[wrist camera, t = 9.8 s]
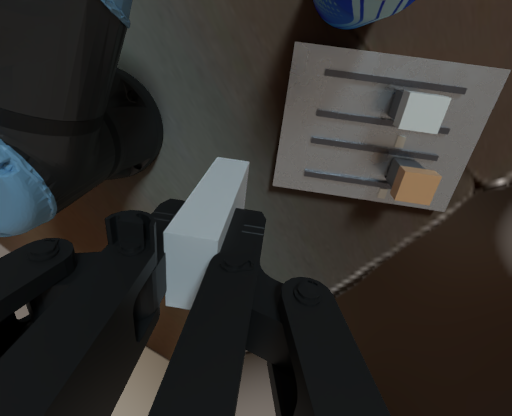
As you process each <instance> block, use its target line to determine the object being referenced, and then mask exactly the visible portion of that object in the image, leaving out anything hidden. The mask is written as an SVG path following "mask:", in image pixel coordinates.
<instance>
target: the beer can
mask: <svg viewBox="0 0 512 416" xmlns="http://www.w3.org/2000/svg"><path fill="white" fill-rule="evenodd" d="M414 1H415V0H313V2H314V5H315V8H316V10H317V12H318V13H319V15H320V16H321V18H322V19H323V20H324V21H325V22H326V23H328V24H329V25H331V26H333V27H335V28H338V29H345V30H347V29H355V28H358V27H361V26H364V25H366V24H369V23H372V22H375V21H377V20H380V19H383V18H386V17H388V16H391V15H393V14H396V13H398V12H400V11H401V10H403V9H405V8H406V7H407V6H409V5H410V4H411V3H412V2H414Z"/></svg>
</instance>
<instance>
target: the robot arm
mask: <svg viewBox="0 0 512 416" xmlns="http://www.w3.org/2000/svg"><path fill="white" fill-rule="evenodd" d="M131 4H132V0H0V237H10V236H13V235H14V236H15V235H20V234H23V233H25V232H28V231H29V230H31V229H33V228H35V227H37V226H39V225H41V224H43V223H46V222H48V221H50V220H51V219H53V218H54V216H55V215H56V214H57V213H58V212H60V211H61V210H63V209H64V208H66V207H67V206H69V205H70V204H71V203H73V202H74V201H76V200H77V199H79V198H80V197H81V196H83V195H84V194H86V193H87V192H89V191H90V190H92V189H93V188H94V187H96V186H97V185H99V184H100V183H102V182H103V181H104V180H110V179H118V178H125V177H129V176H132V175H135V174H137V173H139V172H140V171H142V170H143V169H144V168H146V167H147V166H148V165H149V164H151V163H152V162H153V161H154V159H155V158H156V156H157V155H158V153H159V151H160V148H161V145H162V140H163V125H162V119H161V115H160V112H159V110H158V107H157V105H156V103H155V101H154V100H153V98H152V96H151V95H150V93H149V92H148V91H147V90H146V88H145V87H144V86H143V85H142V84H141V83H140V82H139V81H138V80H136V79H135V78H134V77H132V76H131V75H129V74H128V73H126V72H124V71H122V70H120V69H118V68H117V64H118V61H119V57H120V53H121V49H122V46H123V42H124V38H125V34H126V31H127V28H130V20H129V15H130V9H131ZM248 170H249V162H248V161H241V160H234V159H228V158H221V157H217V158H216V160H215V161H214V162H213V164H212V165H211V166H210V168H209V169H208V171H207V172H206V173H205V175H204V176H203V178H202V179H201V180H200V182H199V183H198V185H197V186H196V187H195V189H194V190H193V192H192V193H191V194H190V196H189V197H188V199H187V200H186V201H183V200H176V199H169V200H167V201H165V202H163V203H161V204H160V205H159V206H158V207H157V208H156V209H155V210H154V212H153V213H152V214H149V213H147V212H143V211H136V210H128V211H121V212H117V213H114V214H111V215H110V216H108V217H107V218H105V224H106V231H107V238H108V245H107V246H106V247H105V248H104V249H103V250H102V252H90V253H75V252H74V248H73V245H72V243H71V242H69V241H68V240H65V239H60V238H46V239H42V240H37V241H34V242H31V243H29V244H26V245H24V246H22V247H20V248H18V249H16V250H14V251H13V252H11V253H9V254H7V255H5V256H3V257H1V258H0V416H111V414H112V412H113V410H114V408H115V406H116V404H117V402H118V400H119V398H120V396H121V394H122V392H123V390H124V388H125V386H126V384H127V382H128V380H129V378H130V376H131V374H132V372H133V370H134V368H135V366H136V364H137V362H138V360H139V358H140V356H141V354H142V352H143V350H144V348H145V346H146V344H147V342H148V340H149V338H150V336H151V334H152V332H153V330H154V328H155V326H156V324H157V321H158V319H159V315H160V302H161V300H162V299H163V297H164V295H165V298H166V306H170V307H176V308H182V309H188V310H190V312H189V315H188V317H187V320H186V322H185V325H184V327H183V330H182V332H181V335H180V337H179V340H178V342H177V345H176V347H175V350H174V352H173V355H172V357H171V360H170V362H169V365H168V367H167V370H166V372H165V375H164V377H163V380H162V382H161V385H160V387H159V390H158V392H157V395H156V397H155V400H154V402H153V405H152V407H151V410H150V412H149V415H148V416H235V412H236V406H237V399H238V393H239V387H240V381H241V374H242V368H243V363H244V356H245V351H246V350H248V351H249V352H251V353H253V354H255V355H257V356H259V357H261V358H263V359H265V360H267V366H268V372H269V378H270V383H271V389H272V395H273V401H274V407H275V412H276V416H391V415H390V413H389V411H388V409H387V407H386V405H385V403H384V401H383V399H382V397H381V394H380V392H379V390H378V388H377V386H376V384H375V382H374V380H373V378H372V376H371V374H370V371H369V369H368V367H367V365H366V363H365V361H364V359H363V357H362V355H361V353H360V350H359V348H358V346H357V344H356V342H355V340H354V338H353V336H352V334H351V332H350V330H349V327H348V325H347V323H346V321H345V319H344V317H343V315H342V313H341V311H340V309H339V307H338V304H337V302H336V300H335V298H334V296H333V294H332V293H331V292H330V290H329V289H328V288H327V287H326V286H325V285H323V284H322V283H321V282H319V281H316V280H314V279H311V278H306V277H296V278H291V279H290V280H288V281H286V282H285V283H284V284H283V283H281V282H278V281H276V280H274V279H272V278H270V277H269V276H268V275H267V274H265V272H264V271H263V270H262V268H261V266H260V255H261V249H262V243H263V236H264V230H265V223H266V218H265V217H264V215H263V213H262V212H259V211H253V210H247V209H244V205H245V196H246V187H247V178H248ZM25 304H26V306H27V309H28V311H29V315H27V316H26V317H24V318H22V319H16V316H15V313H14V312H15V311H17V310H18V309H19V308H21V307H22V306H24V305H25Z"/></svg>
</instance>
